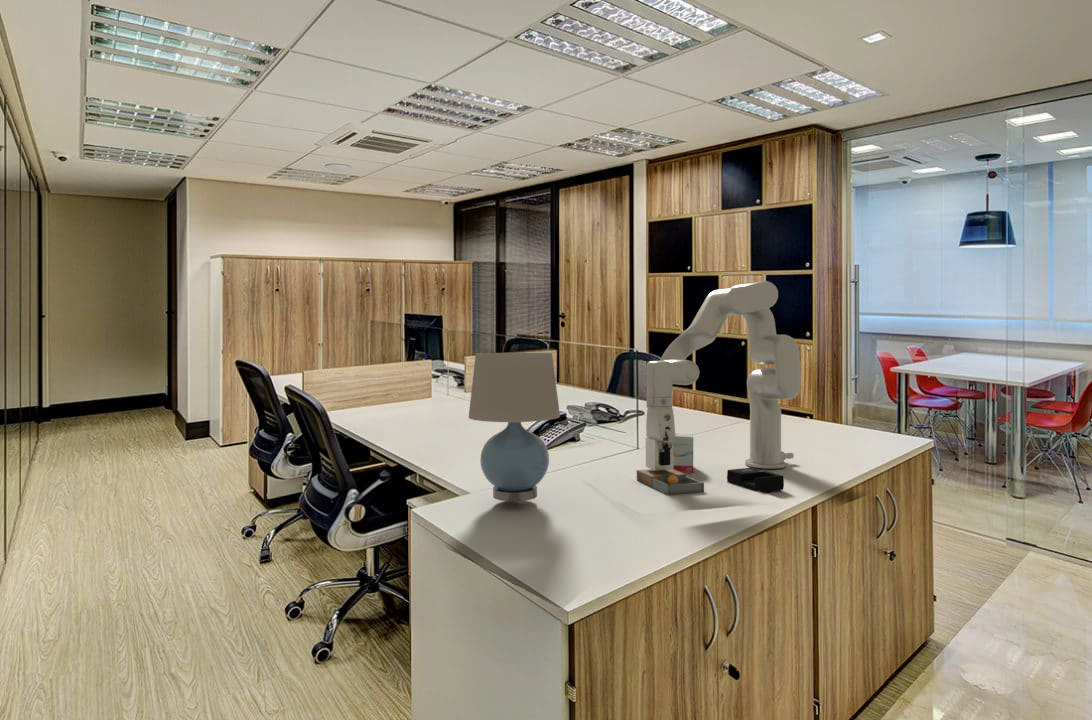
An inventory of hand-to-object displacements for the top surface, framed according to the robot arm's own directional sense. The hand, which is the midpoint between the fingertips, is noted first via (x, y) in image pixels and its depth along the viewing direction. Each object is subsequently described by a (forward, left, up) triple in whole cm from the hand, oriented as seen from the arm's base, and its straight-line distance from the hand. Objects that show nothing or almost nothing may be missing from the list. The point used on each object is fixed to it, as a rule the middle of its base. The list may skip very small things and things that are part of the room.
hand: (659, 462), depth 182 cm
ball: (0, +8, -4) cm, 9 cm away
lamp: (+45, +3, -6) cm, 45 cm away
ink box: (-13, -12, -6) cm, 19 cm away
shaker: (0, 0, -2) cm, 2 cm away
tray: (0, +11, -6) cm, 12 cm away
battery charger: (-24, +13, -6) cm, 28 cm away
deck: (0, +1, -6) cm, 6 cm away
